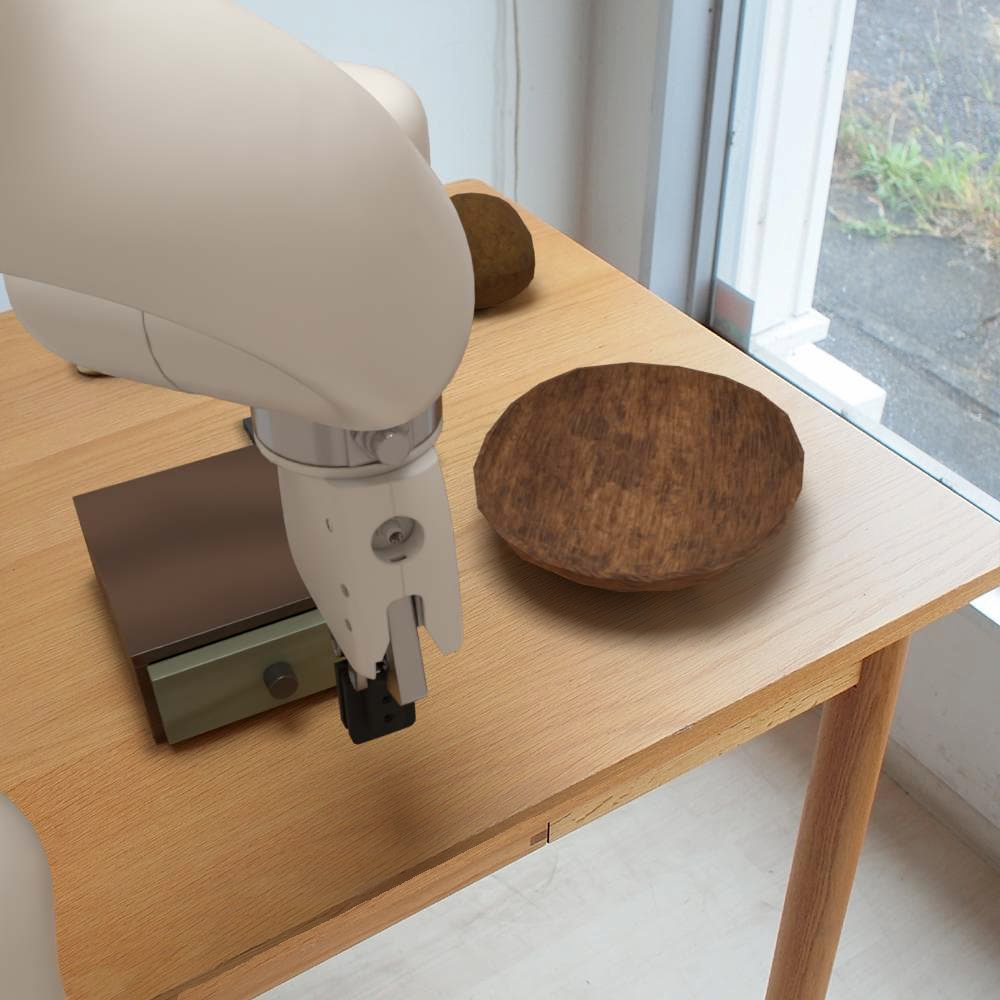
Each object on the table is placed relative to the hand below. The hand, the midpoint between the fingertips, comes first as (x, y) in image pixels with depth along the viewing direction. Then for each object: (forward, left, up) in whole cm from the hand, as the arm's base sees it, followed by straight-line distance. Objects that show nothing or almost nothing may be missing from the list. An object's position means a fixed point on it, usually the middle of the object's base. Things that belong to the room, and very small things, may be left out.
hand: (378, 723), depth 63 cm
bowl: (+22, +14, -6) cm, 27 cm away
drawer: (-3, +14, -5) cm, 15 cm away
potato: (+24, +45, -6) cm, 51 cm away
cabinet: (-3, +17, -6) cm, 18 cm away
